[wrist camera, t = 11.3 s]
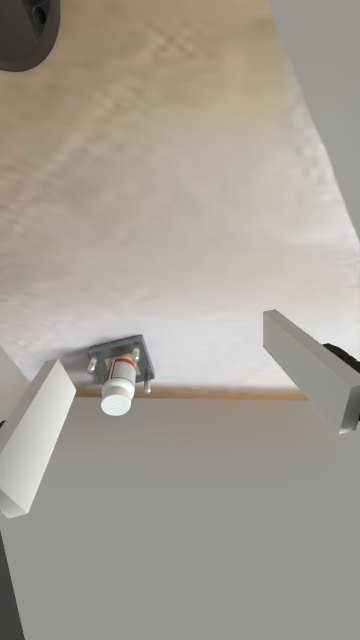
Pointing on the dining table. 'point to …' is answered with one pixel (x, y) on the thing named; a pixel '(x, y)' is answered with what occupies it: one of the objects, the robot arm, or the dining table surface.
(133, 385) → the pill bottle
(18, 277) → the dining table surface
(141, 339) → the chassis
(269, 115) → the dining table surface
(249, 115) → the dining table surface
